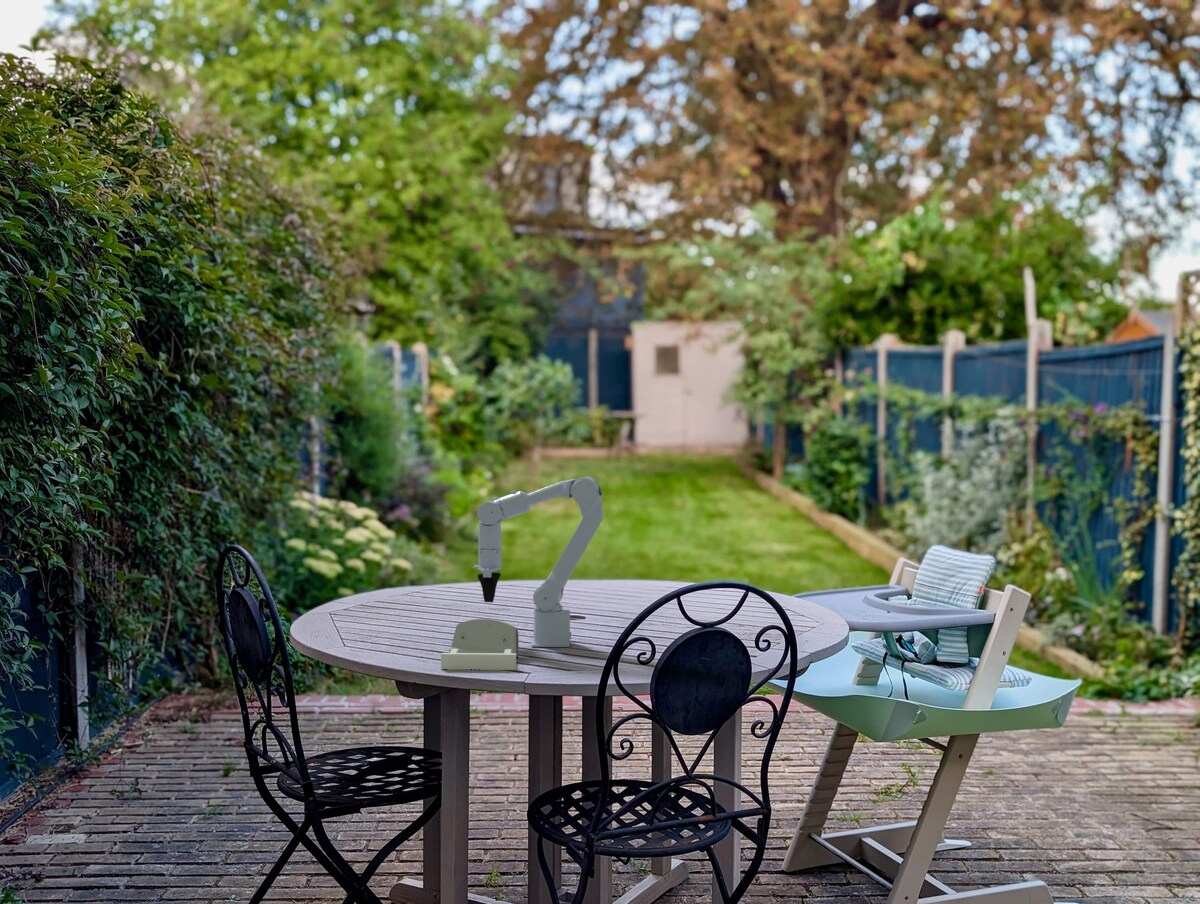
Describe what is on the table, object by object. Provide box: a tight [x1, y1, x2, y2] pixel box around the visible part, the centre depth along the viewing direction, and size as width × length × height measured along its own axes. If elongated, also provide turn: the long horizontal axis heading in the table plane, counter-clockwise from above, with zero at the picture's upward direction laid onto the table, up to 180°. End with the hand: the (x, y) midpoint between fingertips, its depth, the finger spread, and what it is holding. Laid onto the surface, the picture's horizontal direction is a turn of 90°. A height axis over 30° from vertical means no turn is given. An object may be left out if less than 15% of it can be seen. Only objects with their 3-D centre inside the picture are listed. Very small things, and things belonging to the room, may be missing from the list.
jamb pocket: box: [440, 649, 517, 671], centre depth 261 cm, size 17×8×4 cm, turn 91°
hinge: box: [448, 618, 520, 659], centre depth 271 cm, size 17×5×10 cm, turn 76°
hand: (488, 601), depth 287 cm, fingers closed
